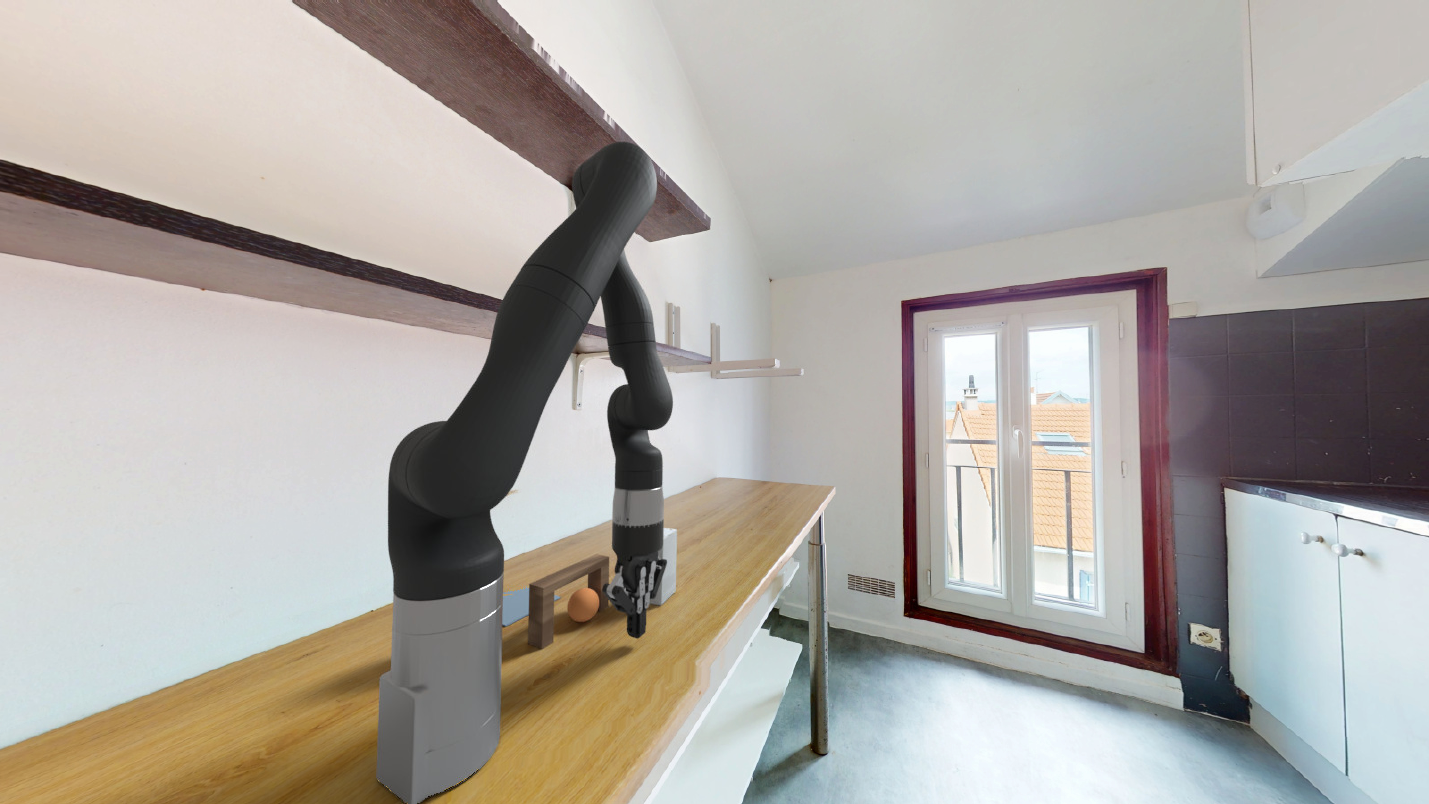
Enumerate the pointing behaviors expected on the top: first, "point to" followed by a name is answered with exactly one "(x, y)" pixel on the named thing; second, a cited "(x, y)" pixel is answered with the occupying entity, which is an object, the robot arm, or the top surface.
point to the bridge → (545, 587)
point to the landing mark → (516, 606)
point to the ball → (583, 604)
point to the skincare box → (667, 567)
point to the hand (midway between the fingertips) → (636, 634)
